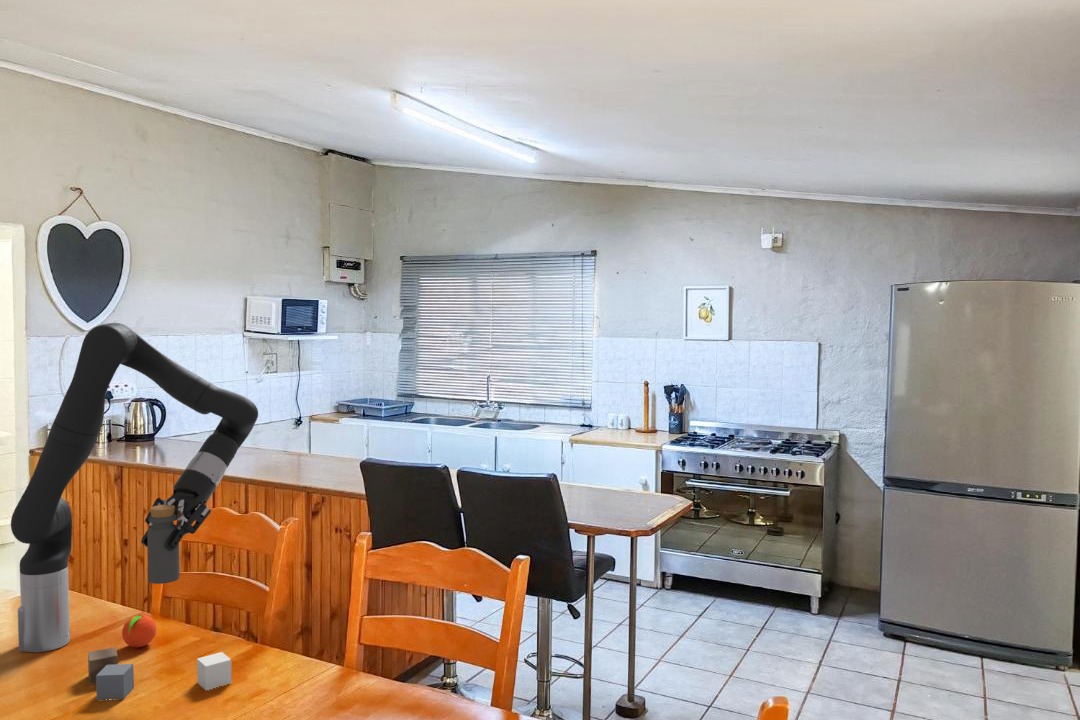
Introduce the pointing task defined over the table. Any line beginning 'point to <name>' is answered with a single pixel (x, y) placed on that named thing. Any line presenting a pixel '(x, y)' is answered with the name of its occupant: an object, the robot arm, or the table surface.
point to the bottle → (162, 546)
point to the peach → (139, 631)
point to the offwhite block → (214, 671)
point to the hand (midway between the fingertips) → (156, 546)
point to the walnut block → (100, 661)
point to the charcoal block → (115, 681)
